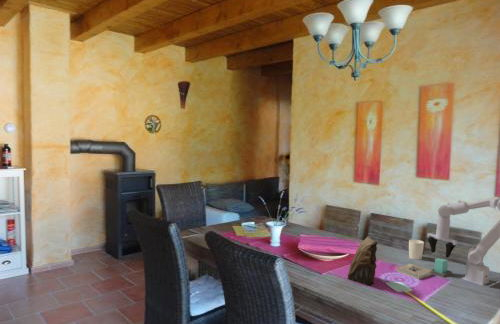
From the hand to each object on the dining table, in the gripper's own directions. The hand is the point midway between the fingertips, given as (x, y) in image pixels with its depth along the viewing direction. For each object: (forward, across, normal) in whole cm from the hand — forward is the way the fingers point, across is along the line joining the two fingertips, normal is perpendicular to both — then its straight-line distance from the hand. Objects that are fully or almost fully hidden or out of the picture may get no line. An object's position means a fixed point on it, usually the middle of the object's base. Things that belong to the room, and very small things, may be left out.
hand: (440, 254), depth 185 cm
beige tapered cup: (+11, -21, +11) cm, 26 cm away
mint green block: (+9, +1, 0) cm, 9 cm away
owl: (+11, -12, -43) cm, 46 cm away
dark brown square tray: (+10, +1, 0) cm, 10 cm away
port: (+10, -5, -12) cm, 17 cm away
